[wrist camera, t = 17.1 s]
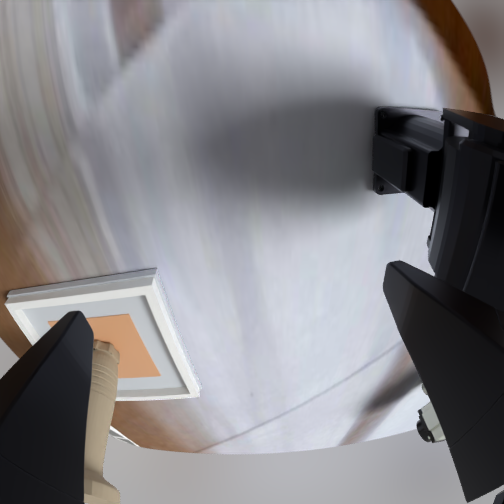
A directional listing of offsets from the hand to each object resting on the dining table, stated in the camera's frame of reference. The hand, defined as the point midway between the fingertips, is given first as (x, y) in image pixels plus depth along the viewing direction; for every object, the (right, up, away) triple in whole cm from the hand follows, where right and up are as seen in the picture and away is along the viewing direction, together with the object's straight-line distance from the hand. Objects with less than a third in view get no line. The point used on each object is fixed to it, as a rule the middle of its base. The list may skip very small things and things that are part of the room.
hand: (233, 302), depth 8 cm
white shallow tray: (-14, -8, +18) cm, 24 cm away
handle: (-14, -8, +18) cm, 24 cm away
